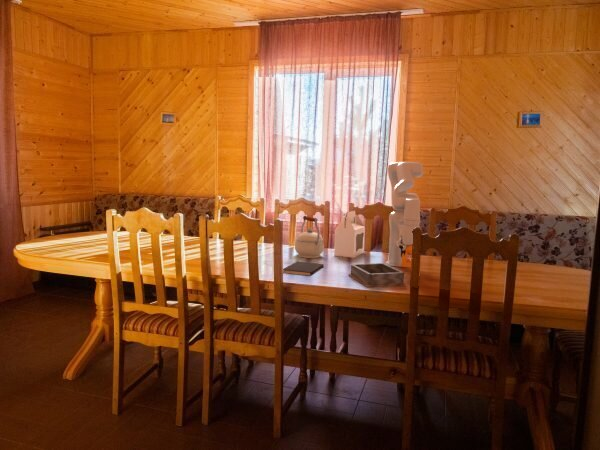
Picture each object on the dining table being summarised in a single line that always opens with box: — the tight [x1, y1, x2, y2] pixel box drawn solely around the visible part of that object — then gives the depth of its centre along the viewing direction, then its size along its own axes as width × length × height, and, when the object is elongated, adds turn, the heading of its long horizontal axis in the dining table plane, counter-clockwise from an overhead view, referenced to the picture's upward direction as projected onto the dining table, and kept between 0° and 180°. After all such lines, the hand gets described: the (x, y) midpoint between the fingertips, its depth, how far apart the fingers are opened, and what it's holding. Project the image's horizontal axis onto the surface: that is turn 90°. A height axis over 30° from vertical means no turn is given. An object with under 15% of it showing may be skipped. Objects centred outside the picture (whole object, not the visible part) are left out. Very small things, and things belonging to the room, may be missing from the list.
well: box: [348, 262, 407, 289], centre depth 234 cm, size 20×24×6 cm
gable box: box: [333, 210, 366, 258], centre depth 302 cm, size 22×13×28 cm, turn 155°
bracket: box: [401, 245, 413, 269], centre depth 239 cm, size 11×7×12 cm, turn 160°
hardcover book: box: [282, 261, 325, 276], centre depth 255 cm, size 16×23×2 cm
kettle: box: [294, 215, 325, 259], centre depth 291 cm, size 25×18×25 cm
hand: (408, 257), depth 239 cm, fingers closed on bracket, 6 cm apart
